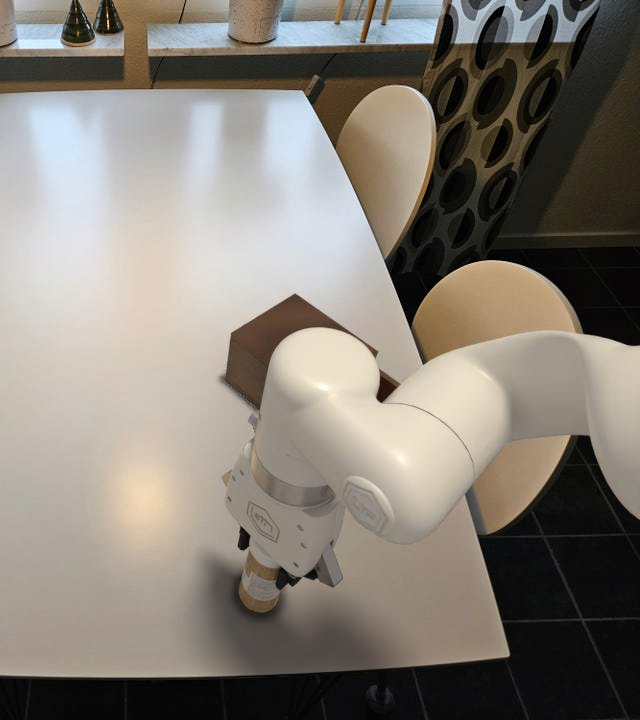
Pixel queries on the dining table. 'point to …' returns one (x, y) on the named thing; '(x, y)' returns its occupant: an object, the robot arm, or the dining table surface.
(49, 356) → the dining table surface
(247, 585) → the sprinkles bottle
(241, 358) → the cabinet
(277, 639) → the dining table surface
